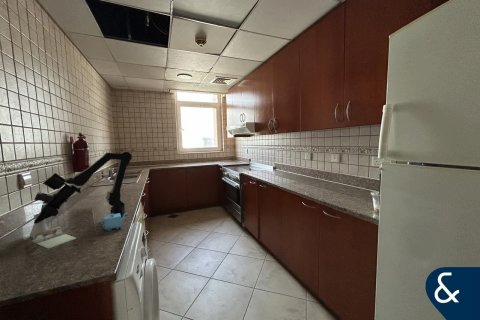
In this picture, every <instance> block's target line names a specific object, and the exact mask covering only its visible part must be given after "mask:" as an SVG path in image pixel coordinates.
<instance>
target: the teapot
mask: <svg viewBox="0 0 480 320" xmlns="http://www.w3.org/2000/svg"><path fill="white" fill-rule="evenodd" d="M126 214H128V212H125V214H124V215H123V217H122V218H121V215H120V213H118V214H111V213H110V214H109V215H104V216H103V218H101V220H100V223H101V224H102V228H104V230H105V231H107V232H111V231H112V229H116V230H118V229H120V228H121V227H123V224H122V223H123V222H124V220H125V219H126V216H127V215H126Z"/></svg>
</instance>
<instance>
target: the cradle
mask: <svg viewBox="0 0 480 320" xmlns="http://www.w3.org/2000/svg"><path fill="white" fill-rule="evenodd" d="M64 234H65V233H64V232H63V229H62V228H61V229H57V230H56V231H54V232H52V234H47V235H43V236H42V234H41V235H38V236H36V237H32V239H33V240H32V241H31V242H33V243H34V244H37V243H40V242H43V241H46V240H49V239H52V238H55V237H58V236H61V235H64Z"/></svg>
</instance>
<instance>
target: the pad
mask: <svg viewBox="0 0 480 320" xmlns="http://www.w3.org/2000/svg"><path fill="white" fill-rule="evenodd" d="M76 239H77V237H74V236H72V235H69V234H66V233H64V234H63V235H60V236H57V237H54V238H51V239H48V240H45V241H41V242H38V243H36V244H37V245H39V246H41V247H43V248H45V249H48V250H49V249H51V248H54V247H57V246H60V245H63V244H66V243H68V242H70V241H74V240H76Z"/></svg>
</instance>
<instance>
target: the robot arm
mask: <svg viewBox="0 0 480 320" xmlns="http://www.w3.org/2000/svg"><path fill="white" fill-rule="evenodd" d="M132 158H133V157H132V153H131V152H129V151H121V152H118V153H117V152H116V153H115V152H106V153H104V155H102V156H101V157H100V158H98V159H97V160H96V161H95V162H94V163H92V164H91V165H90V166H88V167H87V168H86V169H84V170H82V171H80V172H79V173H77V174H74V176H72V177H68V178H64V177H62V176H60V175H59V174H58V173H56V172H54V173H53V174H52V175H50V176H48V178H46V179H45V180H44V181H43V182H42V184H43V185H45V186H47V187H48V188H50V189H52V190H57V192H55V193H53V194H49V193H44V192H40V191H38V192H37V193H36V195H35V197H34V198H33V199H34V201H40V202H42V204H41V208H40V212H39V213H38V214H40V215H39V216H38V217H37V219H36V220H35V219H34V222H33V224H34V223H35V224H36V223H38V222H40V221H43V220H44V221H45V220H47V219H48V218H51V217H56V216H57V215H58V214H59V210H60V209H61V207H62V206H63V205H64V204H65V203H67V202H68V200H69V199H70V198H71V197H72V196H73V195H74V194H75V193H79V194H81V189H82V186H84V185H85V184H86V183H88V182H89V180H90V179H91V177H92V176H93V175H94V174H95V173H96V172H97V171H98V170H100V169H101V168H102V167H103V166H104V165H107V163H109V162H110V160H111V161H112V160H117V162H118V163H117V165H118V166H117V170H116V173H115V177H114V182H113V184H112V188H111V190H110V191H107V194H106V197H105V199H106V202H107V203H108V205H110V206H111V207H110V211H109V212H110V214H118V213H120V215H121V218H122V217H123V215H124V214H125V213H126V210H125V209H126V208H125V206H126V204H125V202H123V201H122V200H121V196H122V195H121V189H122V184H123V181H124V177H125V173H126V170H127V168H128V166H129V164H130V162H131V161H132ZM127 214H128V213H127ZM127 214H126V215H125V216H127Z"/></svg>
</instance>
